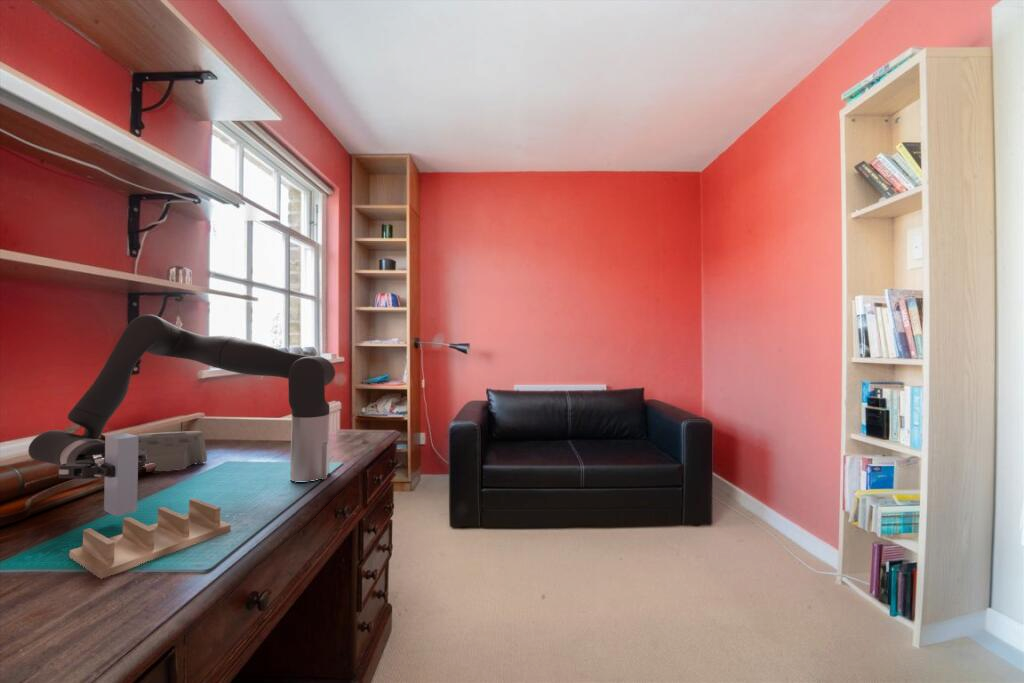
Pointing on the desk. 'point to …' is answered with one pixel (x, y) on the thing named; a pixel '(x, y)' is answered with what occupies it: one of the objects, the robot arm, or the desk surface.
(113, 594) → the desk surface
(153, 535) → the rack
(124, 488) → the grey tall block
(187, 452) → the grey basket
